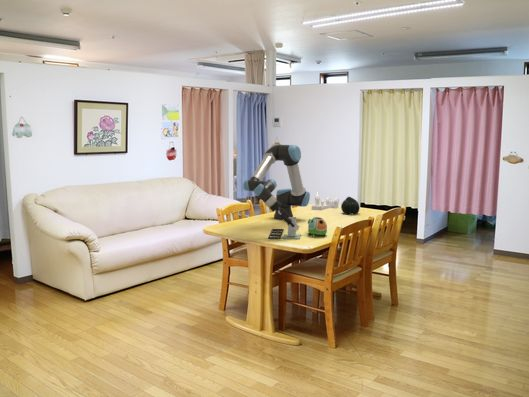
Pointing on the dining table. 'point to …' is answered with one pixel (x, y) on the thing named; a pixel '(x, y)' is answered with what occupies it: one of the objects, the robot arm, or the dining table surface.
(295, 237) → the mat
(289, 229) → the gray rectangular brick
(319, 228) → the turtle holder
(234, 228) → the dining table surface
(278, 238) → the dark brown flat frame
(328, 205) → the toy castle
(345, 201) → the squash
